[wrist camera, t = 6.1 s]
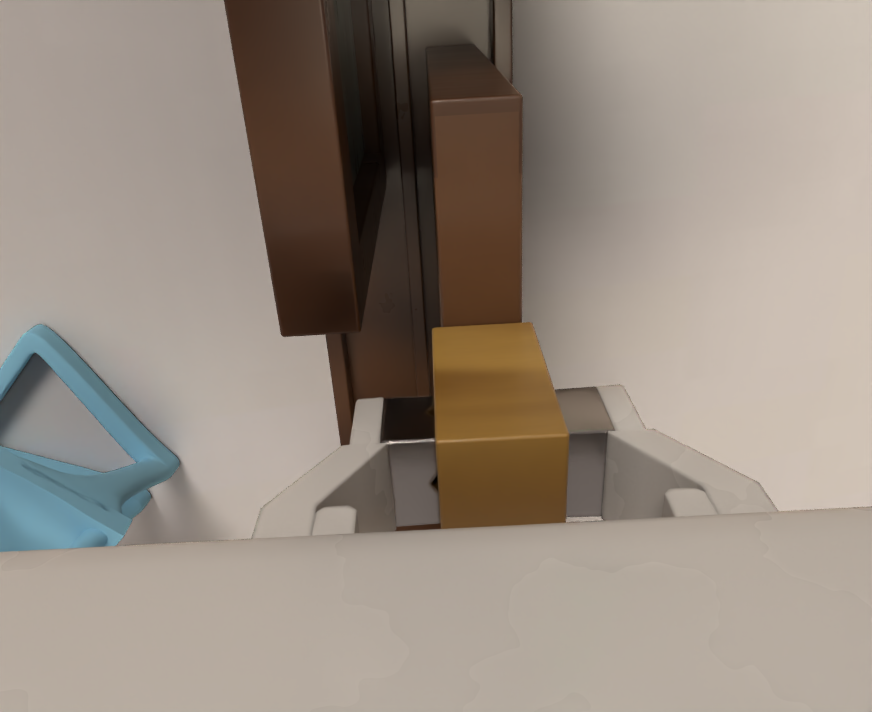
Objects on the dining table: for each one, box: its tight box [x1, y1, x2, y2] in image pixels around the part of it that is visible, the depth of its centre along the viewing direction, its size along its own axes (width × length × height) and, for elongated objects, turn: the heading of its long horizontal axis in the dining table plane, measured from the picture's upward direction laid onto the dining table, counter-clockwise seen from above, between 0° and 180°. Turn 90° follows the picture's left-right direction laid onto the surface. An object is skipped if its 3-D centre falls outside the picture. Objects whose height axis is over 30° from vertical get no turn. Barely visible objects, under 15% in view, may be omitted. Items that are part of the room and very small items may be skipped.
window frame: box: [224, 0, 513, 531], centre depth 20 cm, size 28×7×15 cm, turn 3°
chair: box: [0, 324, 180, 552], centre depth 26 cm, size 8×8×12 cm
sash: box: [425, 45, 570, 529], centre depth 18 cm, size 12×2×16 cm, turn 3°
